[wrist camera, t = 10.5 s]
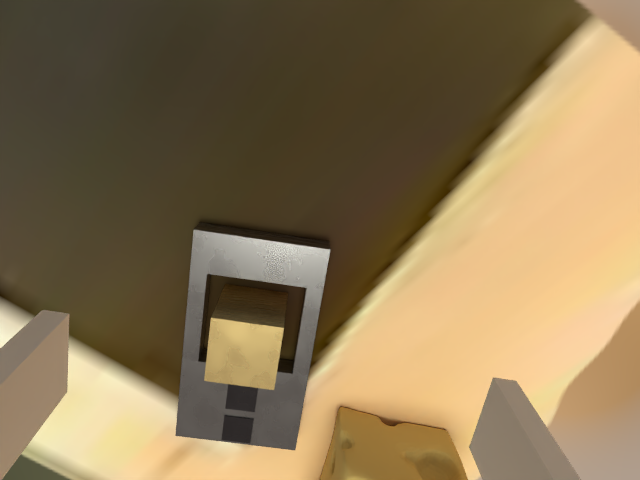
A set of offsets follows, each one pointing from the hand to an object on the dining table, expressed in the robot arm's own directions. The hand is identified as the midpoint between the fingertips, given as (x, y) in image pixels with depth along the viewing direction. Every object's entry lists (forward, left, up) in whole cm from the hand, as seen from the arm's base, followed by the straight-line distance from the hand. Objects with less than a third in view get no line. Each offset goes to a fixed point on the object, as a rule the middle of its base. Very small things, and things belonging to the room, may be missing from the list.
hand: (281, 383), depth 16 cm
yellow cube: (+10, -2, -24) cm, 26 cm away
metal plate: (+12, -2, -24) cm, 26 cm away
